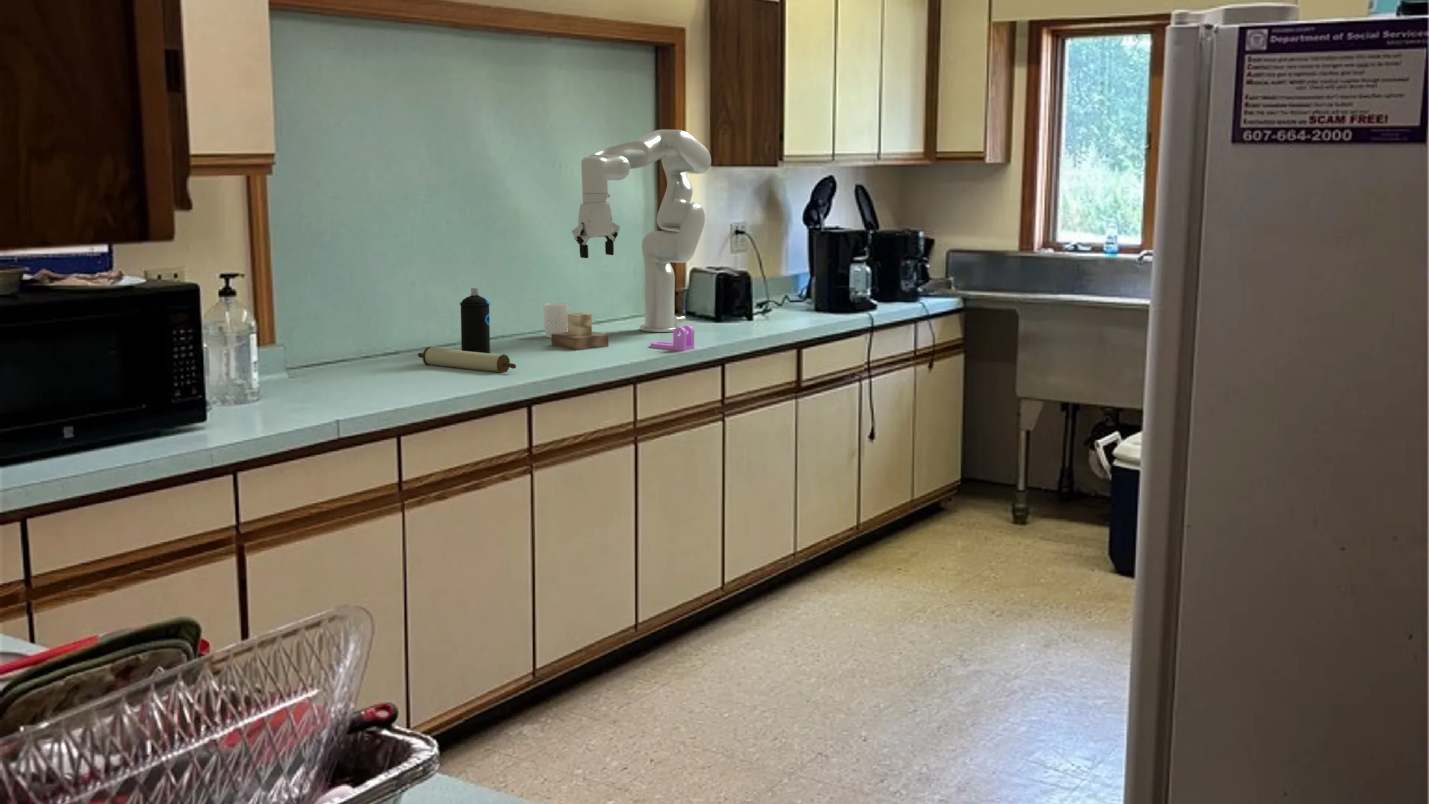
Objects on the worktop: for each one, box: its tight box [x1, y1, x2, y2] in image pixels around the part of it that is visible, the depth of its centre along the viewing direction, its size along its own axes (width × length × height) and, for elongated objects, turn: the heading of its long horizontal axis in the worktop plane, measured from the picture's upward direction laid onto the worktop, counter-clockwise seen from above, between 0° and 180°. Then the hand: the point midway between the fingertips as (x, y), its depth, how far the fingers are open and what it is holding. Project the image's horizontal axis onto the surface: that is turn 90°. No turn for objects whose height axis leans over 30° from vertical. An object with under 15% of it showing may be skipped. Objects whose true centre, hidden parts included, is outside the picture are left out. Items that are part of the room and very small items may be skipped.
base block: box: [550, 331, 610, 351], centre depth 406 cm, size 12×12×4 cm
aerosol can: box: [459, 287, 491, 354], centre depth 375 cm, size 8×8×20 cm
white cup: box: [542, 302, 570, 339], centre depth 423 cm, size 8×8×10 cm
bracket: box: [650, 325, 695, 352], centre depth 404 cm, size 13×6×7 cm, turn 59°
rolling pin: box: [417, 346, 517, 374], centre depth 363 cm, size 32×6×5 cm, turn 62°
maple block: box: [567, 312, 593, 336], centre depth 405 cm, size 5×5×6 cm
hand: (597, 256), depth 412 cm, fingers open, 9 cm apart
